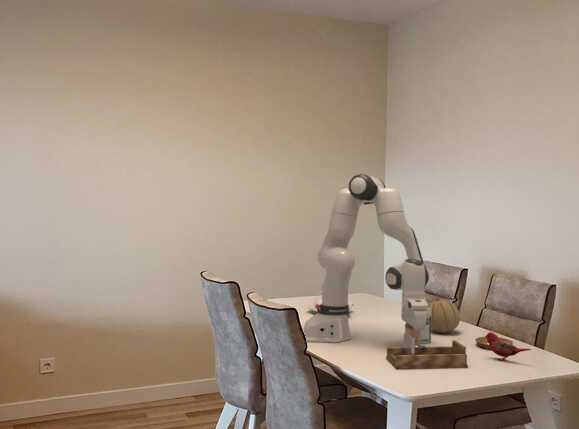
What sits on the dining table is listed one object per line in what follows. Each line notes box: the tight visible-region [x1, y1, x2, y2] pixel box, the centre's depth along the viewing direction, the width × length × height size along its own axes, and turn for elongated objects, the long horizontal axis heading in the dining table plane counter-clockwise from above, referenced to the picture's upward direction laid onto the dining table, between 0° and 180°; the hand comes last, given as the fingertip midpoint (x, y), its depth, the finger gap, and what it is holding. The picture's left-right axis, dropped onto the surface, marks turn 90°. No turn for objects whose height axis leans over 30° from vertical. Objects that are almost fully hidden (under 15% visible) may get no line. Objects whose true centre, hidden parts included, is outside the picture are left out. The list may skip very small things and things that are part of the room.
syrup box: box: [420, 306, 432, 344], centre depth 263 cm, size 6×6×14 cm
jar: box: [404, 322, 421, 346], centre depth 246 cm, size 6×6×11 cm
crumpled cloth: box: [307, 294, 355, 313], centre depth 320 cm, size 24×35×9 cm
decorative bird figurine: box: [484, 331, 532, 362], centre depth 234 cm, size 3×18×10 cm, turn 50°
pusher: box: [403, 332, 426, 355], centre depth 230 cm, size 6×9×9 cm
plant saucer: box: [474, 336, 514, 350], centre depth 256 cm, size 15×15×3 cm
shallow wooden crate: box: [385, 340, 469, 371], centre depth 230 cm, size 26×14×7 cm, turn 97°
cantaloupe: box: [428, 298, 461, 334], centre depth 281 cm, size 15×15×15 cm
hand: (412, 336), depth 246 cm, fingers closed on jar, 6 cm apart
